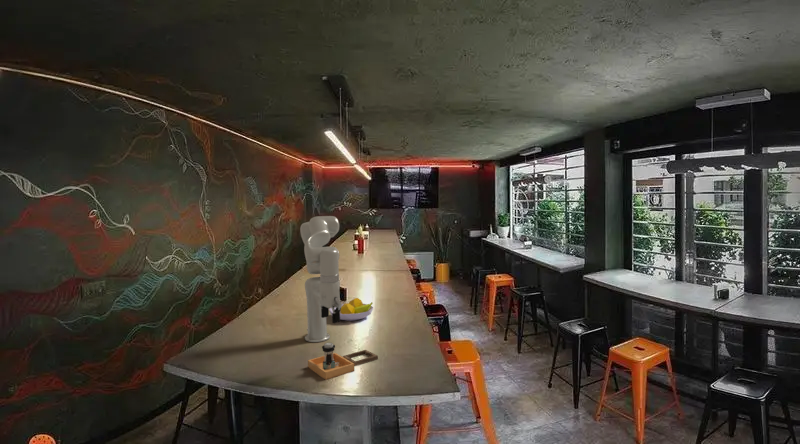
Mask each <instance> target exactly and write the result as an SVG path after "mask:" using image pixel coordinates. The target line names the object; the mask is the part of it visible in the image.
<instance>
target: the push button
mask: <svg viewBox="0 0 800 444" xmlns="http://www.w3.org/2000/svg"><path fill="white" fill-rule="evenodd" d="M335 348H336V346H335V344H334V343H332V342H326V343H324V345H322V346H321V349H322V352H324V353H323V356H324V361H323V368H324V369H331V368H335V366H338V365H335V364H337V363H335V361H334V359H333V353H334V352H335Z"/></svg>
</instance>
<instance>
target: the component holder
mask: <svg viewBox="0 0 800 444" xmlns="http://www.w3.org/2000/svg"><path fill="white" fill-rule="evenodd" d="M364 355H366V356H368V357H366V358H361V359H358V360H354V359H353V358H357V357H360V356H364ZM342 357H344V358H345V359H347V360H349V361H350V362H352V363H354V367H357V366H361V365H363V364H366V363H370V362H373V361H376V360H378V359H379V356H378V355H377V354H375V353H373V352H371V351H369V350H367V349H362V350H360V351H355V352H353V353H349V354H345V355H342Z"/></svg>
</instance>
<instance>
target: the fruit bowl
mask: <svg viewBox="0 0 800 444" xmlns="http://www.w3.org/2000/svg"><path fill="white" fill-rule="evenodd" d="M341 304H342V306H341V310H340V321H347V322H354V321H357V320H361V319H362V320H363V319H364V318H367V317H368V316H370V315H371V314H372V312H373V310H374V307H375V306H372V305H373V304H374V303H373V302H371V303H368V304H367V303H363V301H362V300H361V299H360V298H359V297H355V298H353V299H352V300H349V301H348V302H347V303H341ZM334 309H336V308H334ZM332 313H333V311H332V308H329V314H330V316H332Z"/></svg>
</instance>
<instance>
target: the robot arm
mask: <svg viewBox="0 0 800 444" xmlns="http://www.w3.org/2000/svg"><path fill="white" fill-rule="evenodd" d="M299 230H300V237H301V239H302V242H303V245H304V247H303V248H304V249H303V250H304V251H303V252H304V257H305V260H306V261H305V262H306V269H307V272H308V274H309V275H320V276H314V277H310V278H308V279H306V280H305V282H304V290H305V291H304V292H305V297H306V308H307V309H306V310H307V312H306V313H307V315H306V316H307V329H306V330H307V335H305V336H304V340H305V341H306V342H310V343H321V342H325V341H328V340H329V339H330V338H331V335H330V334H329V333H328V332H327V331H328V330H327V326H328V325H327V324H328V323H327V318H328V317H329V316H330V311H329V309H330V308H332V311H333V313H332V315H331V318H332V324H337V323H340V321H341V319H340V310H341V306H342V304H343V303H342V302H341V298H340V294H341V293H340V288H341V287H340V271H339V270H340V268H339V261H340V251H339V249H338V247H335V246H326V245H327V244H329V242H330V240H331V238H334V237H335V236H336V235H337V234H338V232H339V231H340V222H339V219H338V218H337V217H336V216H333V215H322V216H321V215H320V216H318V215H317V216H313V217H311V218H310V219H309V221H307V222H303V223H302V224H301V225H300V229H299ZM334 308H336V309H334Z"/></svg>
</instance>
